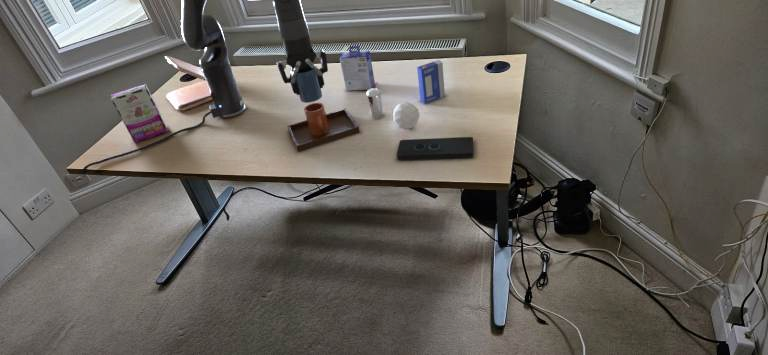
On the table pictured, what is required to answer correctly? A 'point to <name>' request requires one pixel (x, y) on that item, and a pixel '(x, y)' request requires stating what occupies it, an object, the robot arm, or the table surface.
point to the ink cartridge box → (357, 70)
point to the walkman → (431, 81)
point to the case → (189, 87)
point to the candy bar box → (139, 113)
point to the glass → (308, 85)
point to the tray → (338, 129)
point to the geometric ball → (406, 115)
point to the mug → (316, 119)
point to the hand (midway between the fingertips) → (309, 90)
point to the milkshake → (375, 101)
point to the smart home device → (435, 148)
